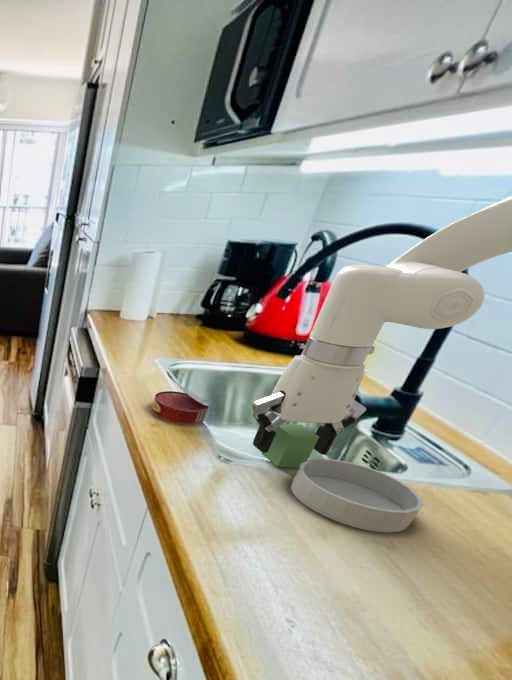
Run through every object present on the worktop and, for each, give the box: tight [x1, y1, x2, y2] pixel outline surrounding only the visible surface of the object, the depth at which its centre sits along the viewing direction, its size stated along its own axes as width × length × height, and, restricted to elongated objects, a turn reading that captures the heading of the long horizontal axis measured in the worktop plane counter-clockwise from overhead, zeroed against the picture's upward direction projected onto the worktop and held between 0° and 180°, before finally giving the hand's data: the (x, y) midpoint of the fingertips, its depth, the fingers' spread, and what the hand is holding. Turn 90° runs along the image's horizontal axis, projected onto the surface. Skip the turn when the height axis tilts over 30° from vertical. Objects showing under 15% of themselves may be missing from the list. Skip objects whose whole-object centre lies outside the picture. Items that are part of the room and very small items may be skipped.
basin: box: [290, 458, 424, 533], centre depth 71 cm, size 14×14×4 cm
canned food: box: [150, 370, 210, 426], centre depth 97 cm, size 11×10×10 cm
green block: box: [261, 423, 319, 469], centre depth 81 cm, size 4×4×6 cm
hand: (288, 449), depth 81 cm, fingers open, 9 cm apart
